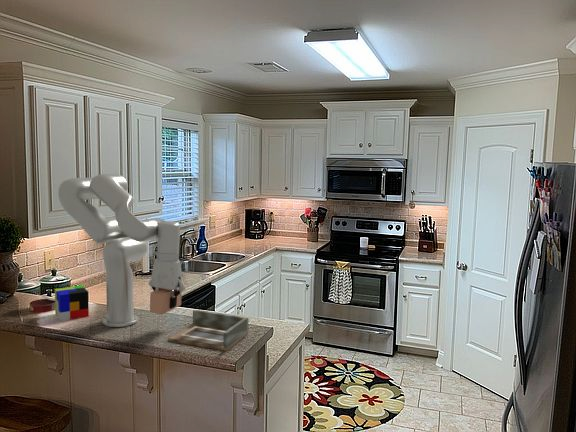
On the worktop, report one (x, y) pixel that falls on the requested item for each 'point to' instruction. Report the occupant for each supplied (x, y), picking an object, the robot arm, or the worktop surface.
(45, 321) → the worktop surface
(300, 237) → the worktop surface
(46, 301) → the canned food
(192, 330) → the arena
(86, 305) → the puzzle toy
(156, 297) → the block
